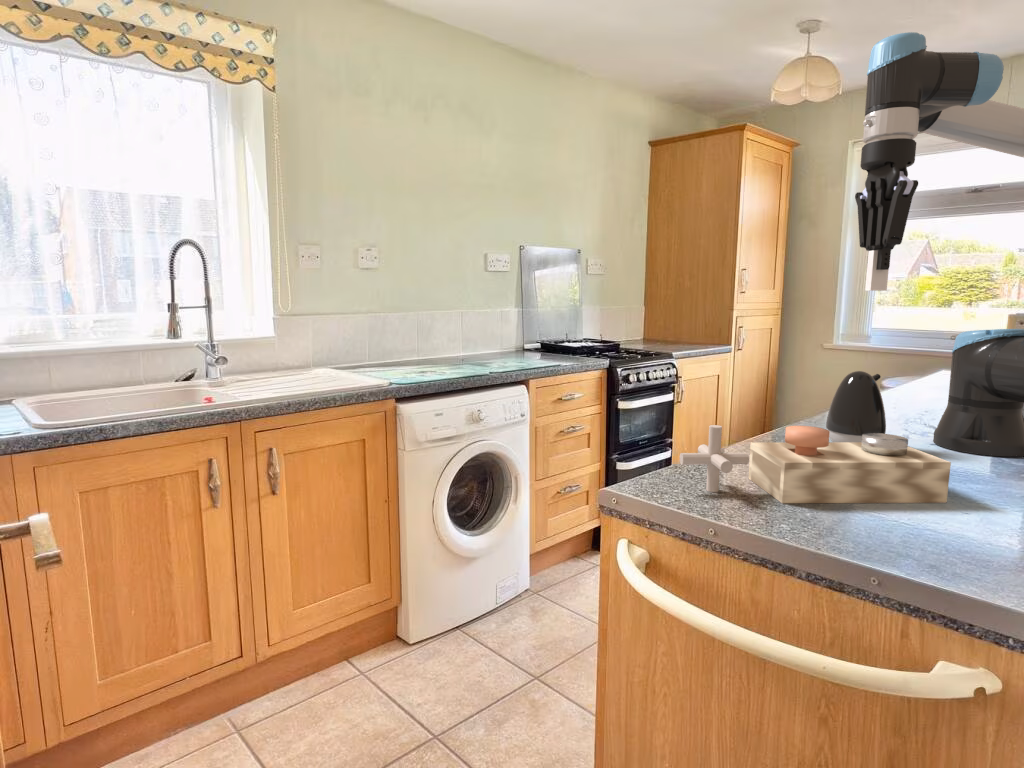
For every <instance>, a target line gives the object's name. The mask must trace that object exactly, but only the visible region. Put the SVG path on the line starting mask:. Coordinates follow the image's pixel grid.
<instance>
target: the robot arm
mask: <svg viewBox="0 0 1024 768" xmlns="http://www.w3.org/2000/svg"><path fill="white" fill-rule="evenodd" d="M927 47H928V46H927V38H926V36H925V35H924V34H922V33H921V34H920V33H918V32H913V31H910V32H900V33H896V34H892V35H888V36H887V37H884V38H882V39H880V41H877V42H876V43H875V44H874V45H873V47H872V49H871V51H870V56H869V61H868V67H867V71H866V76H867V78H866V79H867V81H866V95H865V108H864V109H865V110H864V120H863V122H862V125H863V136H862V142H863V143H864V145H863V147H862V148H861V152H860V153H861V154H860V168H861V170H863V171H866V173H867V176H866V178H865V179H866V180H865V182H864V185H865V186H864V189H863V190H862V191H861V192H860V191H858V192H856V193H855V195H854V199H855V203H856V206H857V219H858V237H859V241H858V242H859V247H860V248H864V249H865V250H866V251H867V260H866V261H867V262H866V276H865V277H866V278H865V287H864V288H865V289H864V290H865V292H866V291H874V292H875V291H877V292H878V291H882V292H883V291H888V280H889V270H890V265H891V264H890V263H891V253H892V250H893V249H894V248H895V246H896V245H897V246H899V245H901V244H902V243H903V239H904V235H905V230H906V225H907V221H908V218H909V213H910V211H911V210H910V209H911V204H912V202H913V196H914V195H915V192H916V190H917V189H918V186H919V180H918V179H916V180H914V179H910V178H909V177H908V175H909V172H908V168H909V167H912V165H914V164H915V161H916V152H917V150H916V149H917V142H916V140H915V138H916V137H918V135H919V133H920V134H927V135H930V136H934V137H937V138H938V137H939V138H942V139H947V140H950V141H955V142H958V143H964V144H967V145H971V146H975V147H979V148H982V149H988V150H992V151H996V152H999V153H1004V154H1007V155H1011V156H1016V157H1020V158H1024V107H1020V106H1016V105H1011V104H1008V103H1004V102H1000V101H996V100H991V99H992V97H994V95H995V94H996V92H998V90H999V88H1000V86H1001V84H1002V82H1003V74H1004V67H1005V66H1004V63H1003V61H1002V59H1001V57H1000V56H998V55H997V54H994V53H986V52H979V51H974V52H965V51H964V52H962V51H961V52H959V51H958V52H955V51H954V52H953V51H951V52H949V51H947V52H946V51H945V52H943V51H933V50H932V51H929V50H927ZM953 344H954V345H953V349H952V350H951V353H952V354H951V367H950V378H949V388H948V400H947V405H946V408H945V410H944V411H943V414H942V416H941V418H940V420H939V422H938V424H937V427H936V428H935V429H934V432H933V440H932V442H933V443H934V444H935V445H937V446H940V447H942V448H945V449H949V450H952V451H958V452H961V453H962V452H963V453H968V454H975V455H983V456H992V457H1023V456H1024V414H1023V409H1024V407H1023V406H1024V328H999V329H998V328H997V329H977V330H967V331H963V332H960V333H958V334H957V335H956V337H955V339H954V343H953Z"/></svg>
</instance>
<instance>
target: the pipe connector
mask: <svg viewBox="0 0 1024 768" xmlns="http://www.w3.org/2000/svg"><path fill="white" fill-rule="evenodd" d="M708 428H709V429H708V445H707V444H704V443H703V444H699V446H698V448H697V452H680V453H679V463H680V465H681V466H683V465H686V466H687V465H689V466H691V465H692V466H693V465H694V466H695V465H697V466H699V465H704V466H705V465H707V466H706V467H707V468H706V469H707V470H706V486H705V489H706V491H707V492H709V493H718V492H719V489H720V488H719V487H720V472H722V473H724V474H729V473H730V472H732V471H733V468H734V466H733V465H748V464H749V461H750V455H749V454H748V452H721V451H722V449H721V448H722V434H723V433H722V431H723V426H722V425H718V424H710V425H709V426H708Z"/></svg>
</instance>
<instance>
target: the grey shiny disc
mask: <svg viewBox="0 0 1024 768" xmlns="http://www.w3.org/2000/svg"><path fill="white" fill-rule="evenodd" d="M908 446H909V439H908V438H906V437H904V436H900V435H897V434H889V433H885V434H882V433H866V434H863V435H862V444H861V449H863V450H865V451H867V452H871V453H875V454H877V455H905V454H907V448H908Z"/></svg>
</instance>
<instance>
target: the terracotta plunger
mask: <svg viewBox="0 0 1024 768" xmlns="http://www.w3.org/2000/svg"><path fill="white" fill-rule="evenodd" d="M829 434H830V432H829V431H828V429H827V428H826V429H825V428H821V427H817V426H809V425H788V426H786V427H785V435H784V442H786V443H788V444H791V445H795V453H796V454H798V455H817V448H821V447H827V446H828V445H829V442H830V437H829Z"/></svg>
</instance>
